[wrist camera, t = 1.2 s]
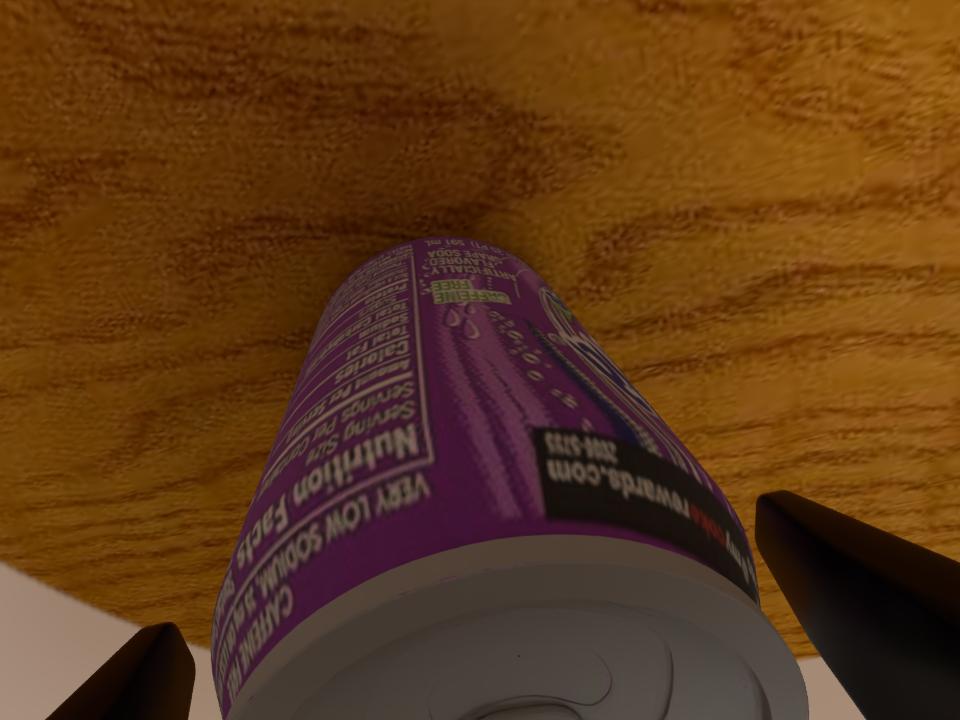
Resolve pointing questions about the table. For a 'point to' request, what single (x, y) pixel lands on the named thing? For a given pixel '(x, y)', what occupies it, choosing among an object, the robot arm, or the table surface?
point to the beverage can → (485, 525)
